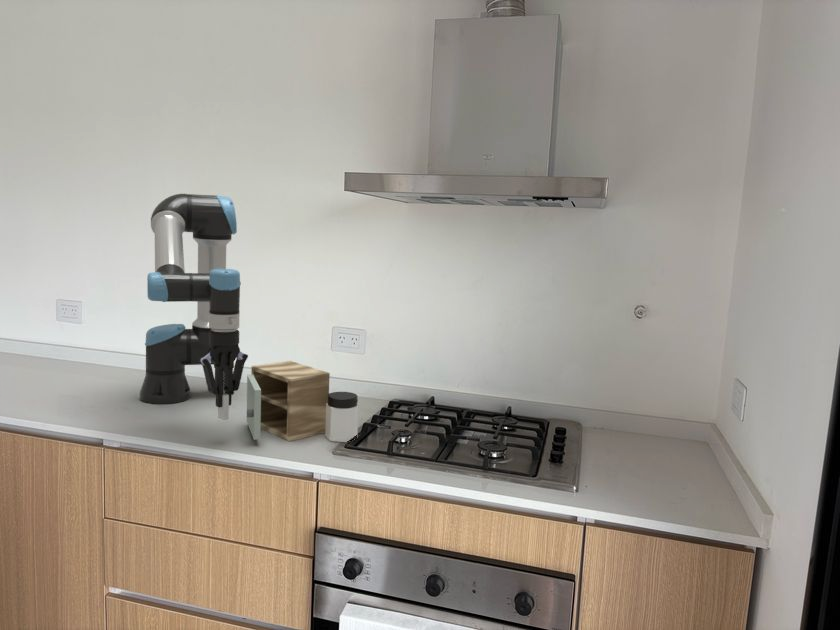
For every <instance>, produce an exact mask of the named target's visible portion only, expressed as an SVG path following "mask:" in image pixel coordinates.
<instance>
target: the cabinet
mask: <svg viewBox="0 0 840 630" xmlns="http://www.w3.org/2000/svg"><path fill="white" fill-rule="evenodd" d="M250 372H251V373H250V375H254V377H255V379H256V381H257V383H258V385H259V387H260V389H261V425H260V430H263V431H266V432H268V433H270V434H272V435H275V436H276V437H279V438H281V439H283V440H285V441H288V442H292V441H295V440H299V439H303V438H308V437H311V436H317V435H320V434H325V424H326V404H327V403H328V394H330V377H331V376H330V375H331V374H330V372H328V371H325V370H322V369H318V368H315V367H312V366H308V365H305V364H301V363H299V362H296V361H292V360H286V361H285V360H284V361H278V362H272V363H271V362H270V363H264V364H256V365H251V371H250Z"/></svg>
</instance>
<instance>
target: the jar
mask: <svg viewBox="0 0 840 630" xmlns="http://www.w3.org/2000/svg"><path fill="white" fill-rule="evenodd" d="M358 400H359V399H358V395H357V394H356V393H354V392H350V391H333V392H329V394H328V403H327V404H326V424H325V433H324V436H325V438H326V439H327V440H328V441H330V442H333V443H335V442H337V443H348V442H347V441H349V440H350V439H351V438H353V437H354V436H356V435H357V436H358V428H359V427H358V426H359V405H358ZM349 442H350V441H349Z"/></svg>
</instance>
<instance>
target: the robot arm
mask: <svg viewBox="0 0 840 630" xmlns="http://www.w3.org/2000/svg"><path fill="white" fill-rule="evenodd" d="M150 227H151V228H150V229H151V231H152V233H153V234H154V272H149V273H148V274H147V276H146V278H147V279H146V280H147V284H146V285H147V289H146V290H147V292H146V293H147V299H148V300H150V301H151V302H162V303H166V302H168V303H169V302H175V303H176V302H196V303H197V304H196V305H197V308H196V309H197V310H196V311H197V315H196V317H197V318H196V319H195V320H194V321H193V322H192V324H191V327H192V328H186V326H185V325H184V324H183V323H170V324H169V323H168V324H162V325H157V326H153V327H150V328H149V329H148V330H146V331H147V332H146V334H145V343H144V346H145V376H144V379H143V382H142V385H141V388H140V391H139V400H140V401H142V402H144V403H146V404H147V403H148V404H156V405H159V404H160V405H163V404H166V405H167V404H175V403H181V402H185V401H187V400H189V399H190V398H191V395H192V394H191V388H190V384H189V381H188V379H187V376H186V368H185V367H186V366H200V365H201V366H202V369H203V373H204V374H203V375H204V379H205V382H206V386H207V387H206V388H207V391H208V392H209V393H210V394H212V395H214V396H215V406H216V407H217V408H218V410H217V411H218V412H217V417H218V418H219V419H220V420H222V421H225V420H229V415H230V414H229V413H230V412H229V410H230V408H229V407H230V406H232V396H233V395H234V393H235V392H237V391H239V388H240V383H241V380H242V375H243V372H244V367H245V363H246V361H247V360H248V358H249V355H248V354H247V353H243V352H242V351H241V348H240V346H239V344H240V330H239V328H240V303H241V302H240V299H241V298H240V297H241V293H240V292H241V283H242V282H241V274H240V271H239V270H237V269H233V268H227V245H228V243H230V242H231V241H232V235H236V234H237V231H238V229H237V228H238V227H237V216H236V208H235V204H234V202H233V200H232V198H230V197H229V196H223V195H217V194H215V195H213V194H194V193H191V194H189V193H176V194H172V195H170V196H167V197H166V198H165V199H163V200H161V202H160V203H158V204H157V206H155V208H154V210H153V211H152V213H151V217H150ZM184 233H192V239H193V240H194V242H196V243H197V273H196V272H195V273H194V272H186V271H185V257H184V255H185V254H184V242H183V240H184V239H183V234H184ZM212 365H213V367H214V370H213V367H212ZM213 371H214V372H213Z"/></svg>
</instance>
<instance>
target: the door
mask: <svg viewBox="0 0 840 630" xmlns="http://www.w3.org/2000/svg"><path fill="white" fill-rule="evenodd" d="M246 377H247V379H246V380H247V381H246V423H247V426H248V428H249V430H250V433H251V436H252V438H253V440H261V428H260V425H261V389H260V387H259V385H258V383H257V381H256V379H255V377H254V375H251V374H247V376H246Z"/></svg>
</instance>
